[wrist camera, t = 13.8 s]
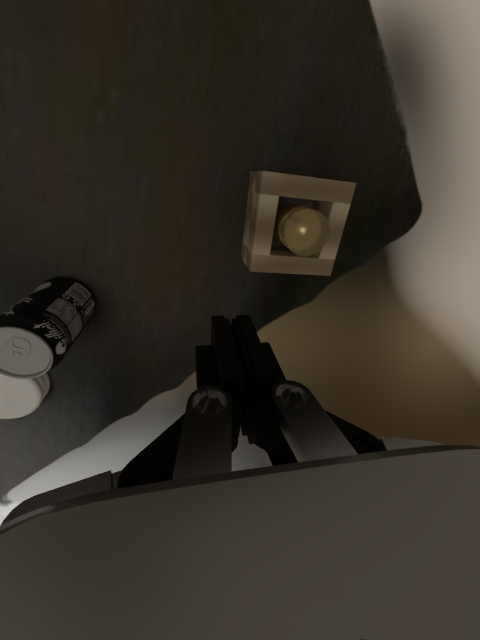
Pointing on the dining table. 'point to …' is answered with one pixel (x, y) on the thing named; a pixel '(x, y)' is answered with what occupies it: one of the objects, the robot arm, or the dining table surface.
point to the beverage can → (43, 327)
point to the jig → (261, 213)
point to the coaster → (21, 395)
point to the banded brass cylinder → (301, 229)
